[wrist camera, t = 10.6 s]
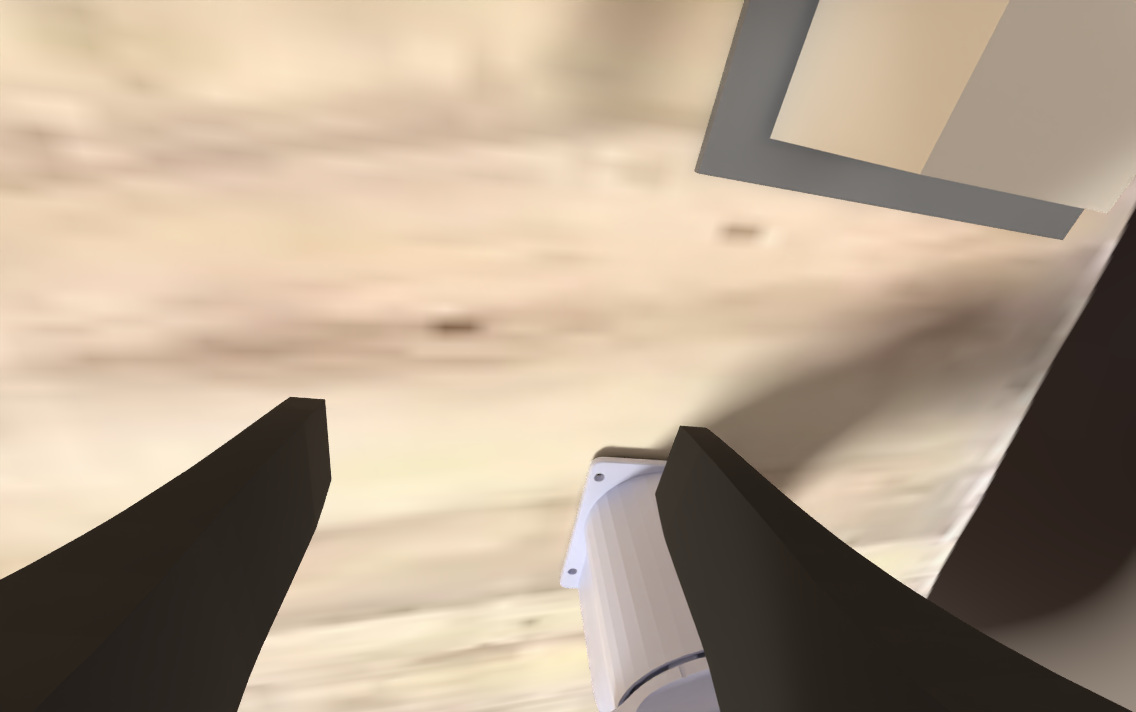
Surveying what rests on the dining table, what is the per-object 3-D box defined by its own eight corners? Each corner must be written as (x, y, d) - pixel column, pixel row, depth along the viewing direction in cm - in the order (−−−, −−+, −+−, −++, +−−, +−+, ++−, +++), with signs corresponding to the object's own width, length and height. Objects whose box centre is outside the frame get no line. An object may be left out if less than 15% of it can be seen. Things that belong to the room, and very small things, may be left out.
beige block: (903, 166, 17) (1107, 213, 11) (769, 138, 16) (919, 174, 10) (993, -18, 14) (1318, -77, 9) (842, -65, 13) (1096, -169, 8)
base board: (1052, 237, 20) (1062, 240, 19) (694, 171, 17) (698, 173, 16) (1266, -76, 15) (1283, -79, 15) (817, -248, 12) (826, -258, 12)
